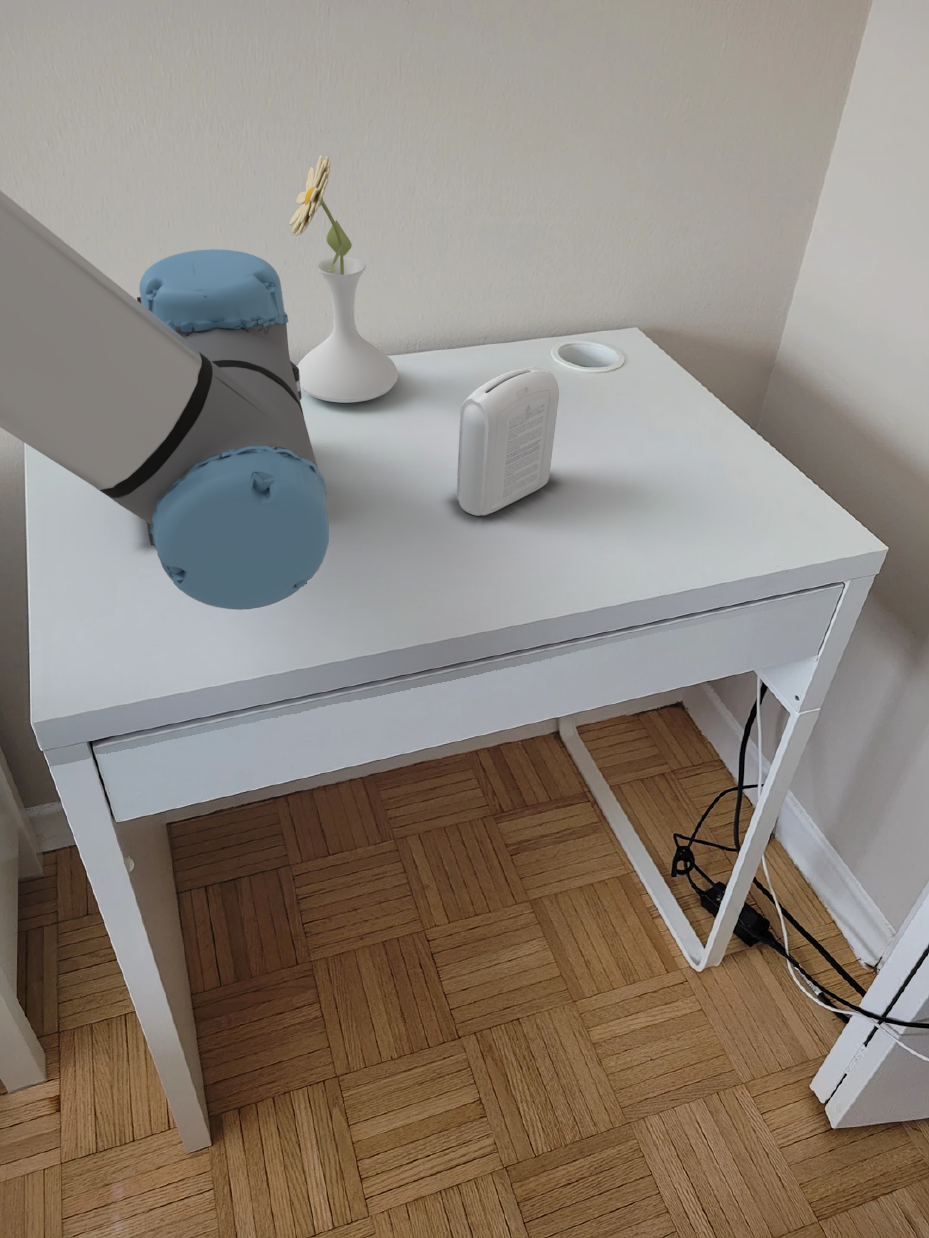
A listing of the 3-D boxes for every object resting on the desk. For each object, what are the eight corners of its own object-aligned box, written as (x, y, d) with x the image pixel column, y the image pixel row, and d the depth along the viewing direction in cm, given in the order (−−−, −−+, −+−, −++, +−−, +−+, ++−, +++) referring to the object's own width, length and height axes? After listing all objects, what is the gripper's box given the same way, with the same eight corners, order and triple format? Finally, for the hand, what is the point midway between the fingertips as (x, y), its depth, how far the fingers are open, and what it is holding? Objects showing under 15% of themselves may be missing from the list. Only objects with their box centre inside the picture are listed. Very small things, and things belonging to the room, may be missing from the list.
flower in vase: (315, 360, 111) (298, 127, 95) (409, 372, 110) (408, 137, 94) (276, 412, 102) (249, 163, 85) (378, 426, 100) (372, 175, 84)
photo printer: (523, 466, 95) (534, 350, 87) (555, 484, 93) (569, 367, 85) (449, 504, 90) (452, 384, 82) (481, 523, 87) (488, 402, 79)
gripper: (88, 501, 67) (80, 360, 83) (361, 463, 72) (303, 336, 88) (62, 405, 62) (59, 275, 78) (357, 371, 67) (296, 255, 83)
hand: (188, 308), depth 83 cm, fingers open, 7 cm apart
